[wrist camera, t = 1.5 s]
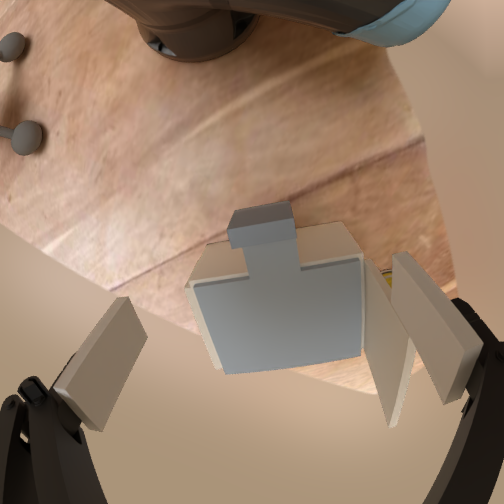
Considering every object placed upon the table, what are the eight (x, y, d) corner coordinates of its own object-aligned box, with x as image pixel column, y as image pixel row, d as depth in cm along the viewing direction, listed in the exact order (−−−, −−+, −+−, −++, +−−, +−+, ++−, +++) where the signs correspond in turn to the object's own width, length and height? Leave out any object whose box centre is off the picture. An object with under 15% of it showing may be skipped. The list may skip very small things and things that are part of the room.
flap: (175, 222, 27) (155, 243, 22) (352, 190, 25) (371, 205, 20) (226, 369, 35) (220, 401, 30) (359, 351, 33) (368, 382, 28)
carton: (201, 245, 39) (140, 362, 19) (347, 220, 36) (420, 325, 16) (226, 326, 44) (201, 451, 24) (352, 307, 42) (394, 429, 22)
